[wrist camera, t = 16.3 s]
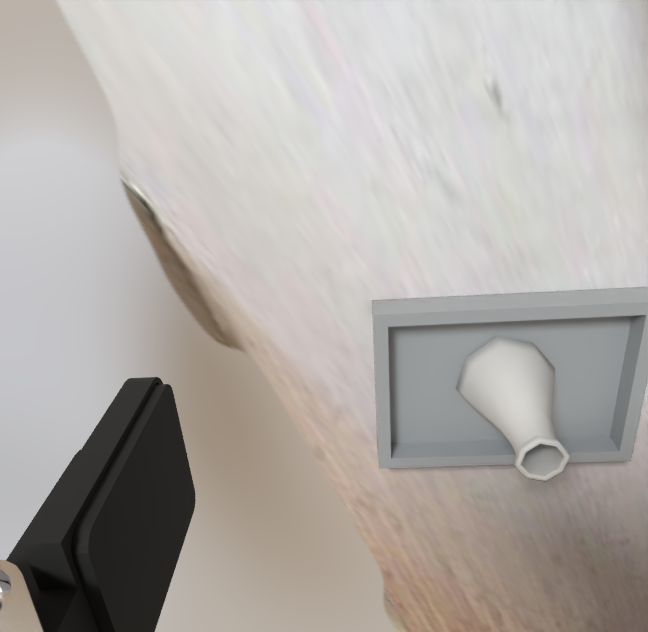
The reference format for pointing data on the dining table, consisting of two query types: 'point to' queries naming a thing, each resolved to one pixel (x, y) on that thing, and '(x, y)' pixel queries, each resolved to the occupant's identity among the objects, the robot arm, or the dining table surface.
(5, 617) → the robot arm
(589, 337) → the tray
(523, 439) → the flask
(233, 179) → the dining table surface
